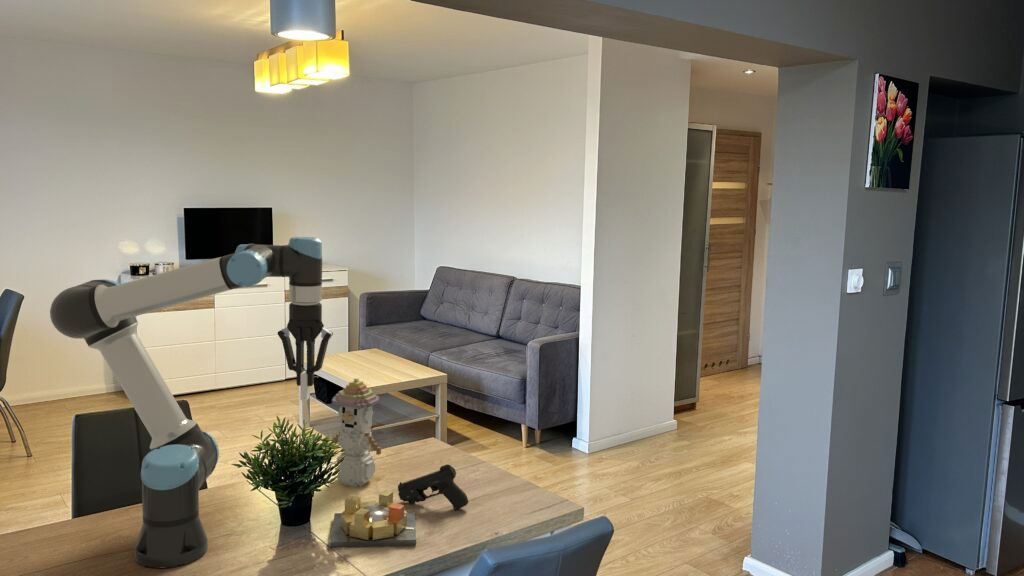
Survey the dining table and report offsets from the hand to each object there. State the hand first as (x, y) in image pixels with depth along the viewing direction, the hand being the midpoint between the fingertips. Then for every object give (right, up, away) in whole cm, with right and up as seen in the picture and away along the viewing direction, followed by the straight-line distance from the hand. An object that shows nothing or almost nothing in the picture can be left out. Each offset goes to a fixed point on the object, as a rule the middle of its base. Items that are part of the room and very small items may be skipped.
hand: (305, 398), depth 190 cm
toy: (+5, -28, +34) cm, 44 cm away
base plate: (+16, -33, +3) cm, 37 cm away
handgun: (+29, -32, +19) cm, 47 cm away
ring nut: (+16, -31, +2) cm, 35 cm away
